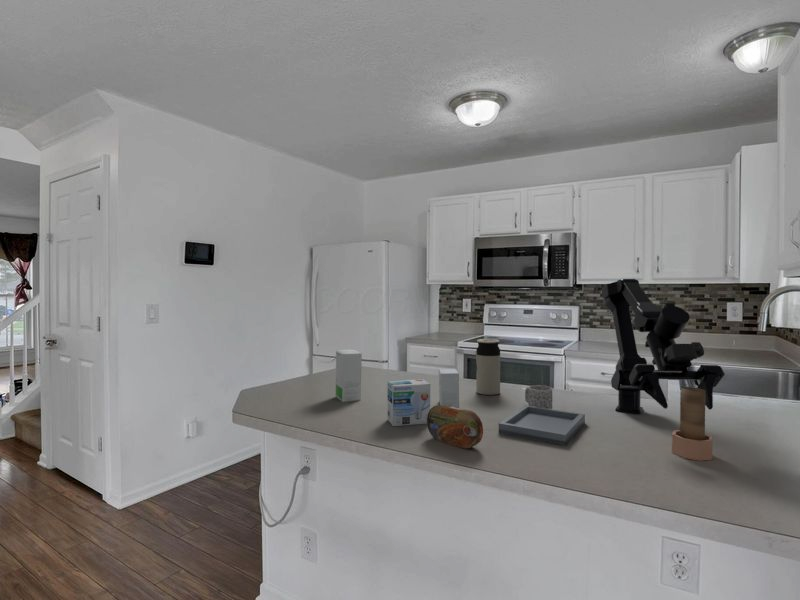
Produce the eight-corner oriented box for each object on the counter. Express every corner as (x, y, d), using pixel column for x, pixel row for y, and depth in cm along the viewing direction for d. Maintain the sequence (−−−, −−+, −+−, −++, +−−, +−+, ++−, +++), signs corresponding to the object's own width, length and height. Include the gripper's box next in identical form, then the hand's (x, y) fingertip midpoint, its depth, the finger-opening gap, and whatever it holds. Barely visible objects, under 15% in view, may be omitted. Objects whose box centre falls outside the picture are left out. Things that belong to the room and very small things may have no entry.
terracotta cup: (673, 445, 102) (673, 428, 102) (712, 451, 98) (712, 433, 98) (671, 455, 96) (671, 437, 96) (712, 462, 92) (712, 443, 92)
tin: (426, 437, 109) (425, 402, 109) (434, 434, 111) (434, 400, 111) (477, 453, 98) (476, 415, 98) (485, 449, 100) (485, 412, 100)
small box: (459, 408, 134) (459, 373, 134) (440, 408, 134) (440, 373, 134) (456, 401, 142) (456, 368, 142) (438, 401, 142) (438, 368, 142)
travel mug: (503, 391, 155) (503, 339, 154) (495, 396, 148) (495, 342, 147) (481, 389, 159) (481, 338, 158) (472, 393, 152) (472, 340, 152)
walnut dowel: (680, 448, 100) (681, 386, 100) (704, 452, 98) (705, 388, 97) (679, 454, 96) (680, 390, 96) (704, 459, 94) (705, 392, 93)
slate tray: (525, 413, 128) (525, 405, 128) (584, 423, 119) (584, 413, 119) (498, 433, 111) (498, 423, 111) (565, 445, 102) (565, 435, 102)
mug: (557, 412, 130) (557, 389, 129) (538, 414, 127) (538, 391, 127) (534, 403, 139) (534, 382, 139) (516, 406, 136) (516, 384, 136)
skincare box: (335, 396, 149) (334, 350, 149) (354, 394, 152) (353, 348, 151) (342, 402, 141) (342, 353, 141) (362, 400, 144) (362, 352, 144)
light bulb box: (392, 427, 117) (392, 386, 116) (386, 419, 123) (386, 380, 123) (431, 423, 120) (431, 383, 119) (423, 416, 126) (423, 378, 126)
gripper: (634, 329, 104) (655, 387, 94) (720, 329, 102) (752, 388, 91) (621, 358, 112) (639, 414, 102) (700, 359, 110) (728, 416, 99)
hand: (688, 408), depth 98 cm, fingers open, 9 cm apart
